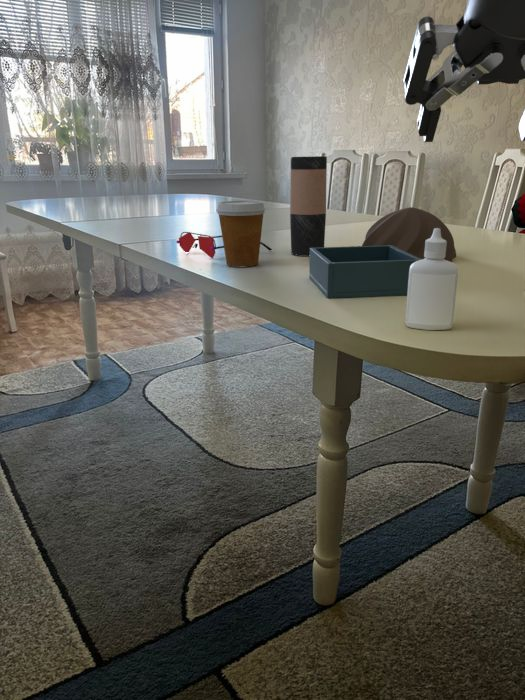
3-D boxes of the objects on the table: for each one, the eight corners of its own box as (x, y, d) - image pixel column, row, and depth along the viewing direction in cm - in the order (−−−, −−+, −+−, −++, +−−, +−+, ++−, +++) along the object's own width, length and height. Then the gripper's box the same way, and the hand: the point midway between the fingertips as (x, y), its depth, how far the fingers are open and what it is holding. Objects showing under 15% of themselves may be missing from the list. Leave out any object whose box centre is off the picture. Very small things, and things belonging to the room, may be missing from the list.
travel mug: (332, 253, 119) (334, 156, 112) (309, 257, 114) (310, 156, 107) (305, 249, 124) (307, 156, 117) (282, 253, 119) (282, 157, 112)
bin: (390, 275, 96) (391, 245, 95) (421, 294, 83) (424, 260, 81) (309, 278, 95) (309, 247, 93) (327, 298, 81) (328, 263, 80)
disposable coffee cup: (228, 271, 102) (226, 205, 98) (211, 262, 110) (209, 201, 106) (274, 266, 106) (273, 202, 101) (254, 258, 114) (253, 199, 110)
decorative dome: (463, 265, 103) (469, 212, 100) (357, 263, 107) (360, 211, 104) (451, 249, 121) (455, 203, 118) (360, 247, 125) (363, 202, 121)
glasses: (176, 253, 121) (174, 230, 120) (234, 244, 132) (233, 223, 130) (212, 261, 112) (211, 236, 110) (272, 251, 122) (272, 228, 120)
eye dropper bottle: (441, 335, 64) (452, 232, 60) (399, 326, 68) (406, 228, 64) (457, 326, 67) (468, 228, 63) (415, 318, 71) (423, 225, 67)
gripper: (649, -102, 36) (549, 104, 50) (428, -92, 37) (393, 107, 51) (681, -33, 32) (563, 165, 47) (438, -24, 34) (397, 166, 48)
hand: (474, 134), depth 49 cm, fingers open, 8 cm apart
